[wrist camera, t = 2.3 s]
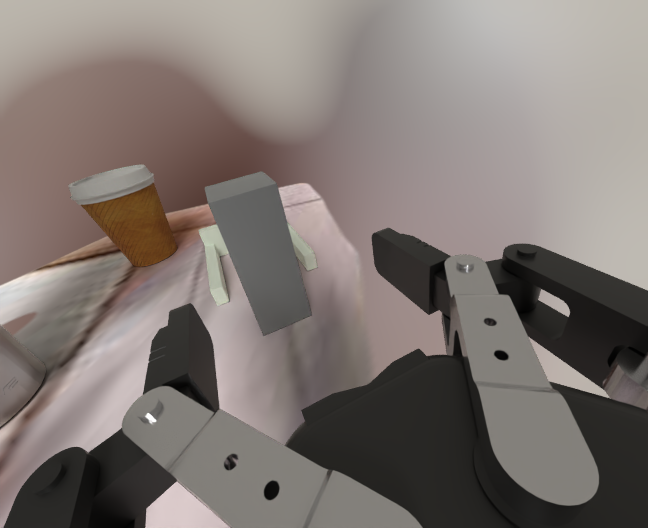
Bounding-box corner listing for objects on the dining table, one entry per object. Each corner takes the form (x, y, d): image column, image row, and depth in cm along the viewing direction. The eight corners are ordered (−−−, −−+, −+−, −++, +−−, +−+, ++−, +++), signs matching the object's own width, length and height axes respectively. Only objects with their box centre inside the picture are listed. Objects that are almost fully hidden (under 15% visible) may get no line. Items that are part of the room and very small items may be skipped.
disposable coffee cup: (172, 235, 47) (134, 163, 41) (199, 246, 41) (160, 164, 35) (111, 263, 42) (56, 185, 35) (133, 281, 36) (72, 191, 29)
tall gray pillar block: (311, 315, 25) (276, 183, 18) (263, 336, 24) (208, 203, 17) (295, 288, 29) (261, 171, 22) (253, 305, 27) (204, 186, 21)
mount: (317, 267, 31) (310, 235, 29) (217, 306, 28) (201, 274, 26) (286, 230, 41) (279, 204, 39) (209, 256, 38) (197, 230, 36)
